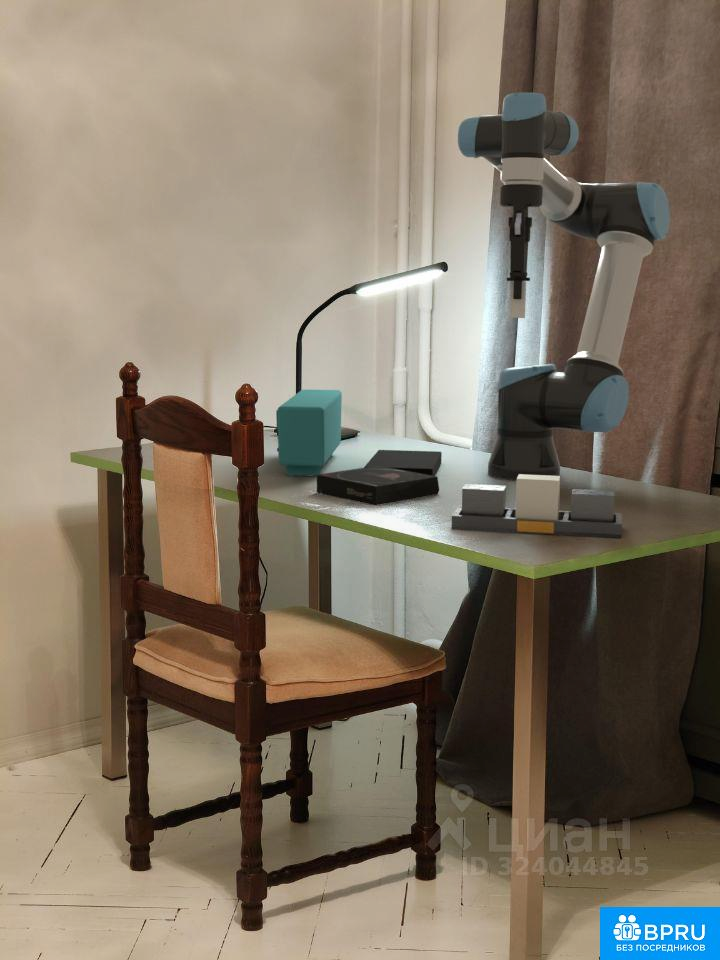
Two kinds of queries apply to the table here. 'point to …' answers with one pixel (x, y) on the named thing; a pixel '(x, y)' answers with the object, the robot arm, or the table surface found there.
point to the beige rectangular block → (537, 497)
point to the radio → (308, 430)
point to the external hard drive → (408, 460)
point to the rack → (585, 519)
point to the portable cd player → (377, 485)
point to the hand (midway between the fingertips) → (517, 317)
